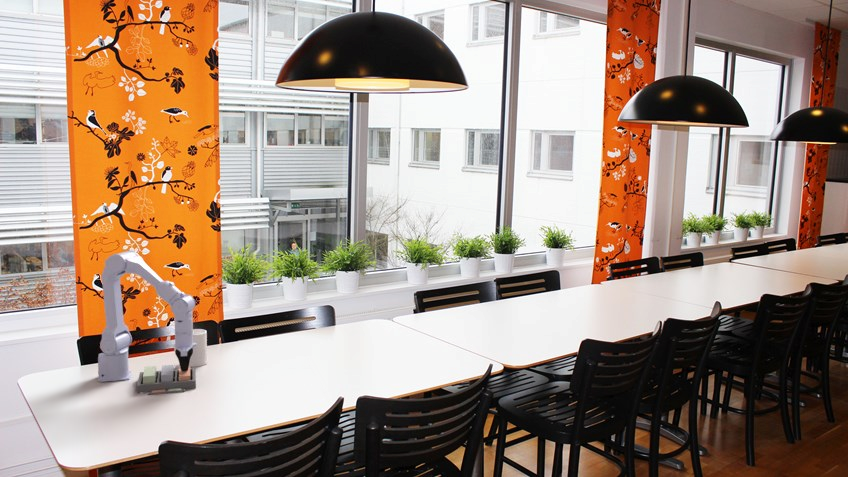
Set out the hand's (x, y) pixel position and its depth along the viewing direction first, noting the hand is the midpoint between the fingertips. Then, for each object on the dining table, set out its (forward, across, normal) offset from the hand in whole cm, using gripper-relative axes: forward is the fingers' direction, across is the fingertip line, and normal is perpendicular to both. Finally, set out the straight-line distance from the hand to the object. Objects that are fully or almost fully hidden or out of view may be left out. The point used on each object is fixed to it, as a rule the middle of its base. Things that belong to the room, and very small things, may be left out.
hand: (184, 370), depth 225 cm
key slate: (+3, 0, +6) cm, 6 cm away
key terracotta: (+4, 0, 0) cm, 4 cm away
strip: (+4, -8, +6) cm, 11 cm away
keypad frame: (+4, 0, +6) cm, 7 cm away
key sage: (+3, 0, +11) cm, 11 cm away
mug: (+4, +20, -2) cm, 21 cm away
